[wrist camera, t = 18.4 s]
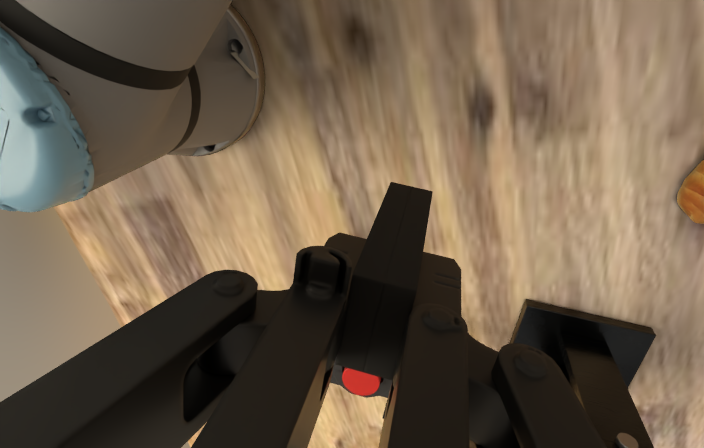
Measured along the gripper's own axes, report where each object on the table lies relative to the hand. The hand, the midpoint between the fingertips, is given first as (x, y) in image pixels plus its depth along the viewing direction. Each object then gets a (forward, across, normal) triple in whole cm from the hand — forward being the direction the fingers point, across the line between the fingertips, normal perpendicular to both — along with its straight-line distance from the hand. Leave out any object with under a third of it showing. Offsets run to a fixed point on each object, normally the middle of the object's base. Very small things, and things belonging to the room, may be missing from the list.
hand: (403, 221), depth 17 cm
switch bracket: (+26, +19, -22) cm, 39 cm away
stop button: (+23, -1, -28) cm, 36 cm away
